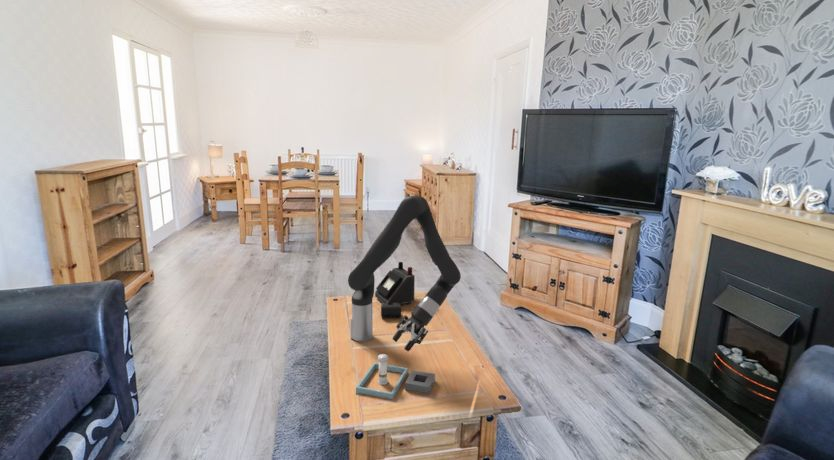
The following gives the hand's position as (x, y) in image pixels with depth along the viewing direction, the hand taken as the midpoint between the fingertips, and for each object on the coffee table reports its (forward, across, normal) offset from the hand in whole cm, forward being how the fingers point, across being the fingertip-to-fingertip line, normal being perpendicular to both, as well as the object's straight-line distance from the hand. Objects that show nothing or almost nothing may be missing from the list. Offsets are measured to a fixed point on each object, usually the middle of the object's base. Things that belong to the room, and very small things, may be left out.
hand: (400, 345), depth 168 cm
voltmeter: (-16, -67, +37) cm, 78 cm away
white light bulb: (+15, 0, +4) cm, 15 cm away
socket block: (+8, +10, +12) cm, 17 cm away
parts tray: (+15, 0, +5) cm, 16 cm away
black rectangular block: (-8, -50, +28) cm, 58 cm away
